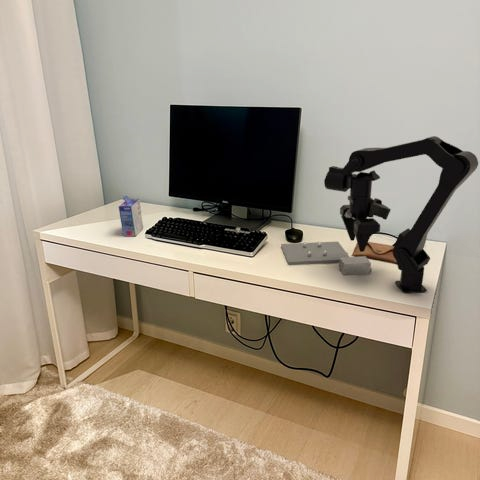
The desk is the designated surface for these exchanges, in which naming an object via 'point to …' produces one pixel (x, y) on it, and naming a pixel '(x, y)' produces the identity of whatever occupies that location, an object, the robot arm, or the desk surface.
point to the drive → (354, 266)
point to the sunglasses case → (376, 252)
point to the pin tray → (313, 252)
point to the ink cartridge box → (131, 217)
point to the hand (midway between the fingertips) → (356, 245)
